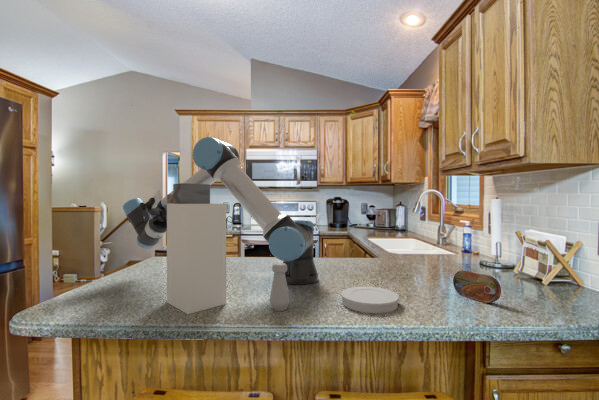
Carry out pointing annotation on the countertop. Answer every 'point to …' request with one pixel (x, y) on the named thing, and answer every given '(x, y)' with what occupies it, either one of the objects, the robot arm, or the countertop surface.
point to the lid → (370, 299)
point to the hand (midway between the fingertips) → (180, 194)
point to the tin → (477, 286)
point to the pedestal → (196, 256)
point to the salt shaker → (279, 288)
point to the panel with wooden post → (189, 194)
